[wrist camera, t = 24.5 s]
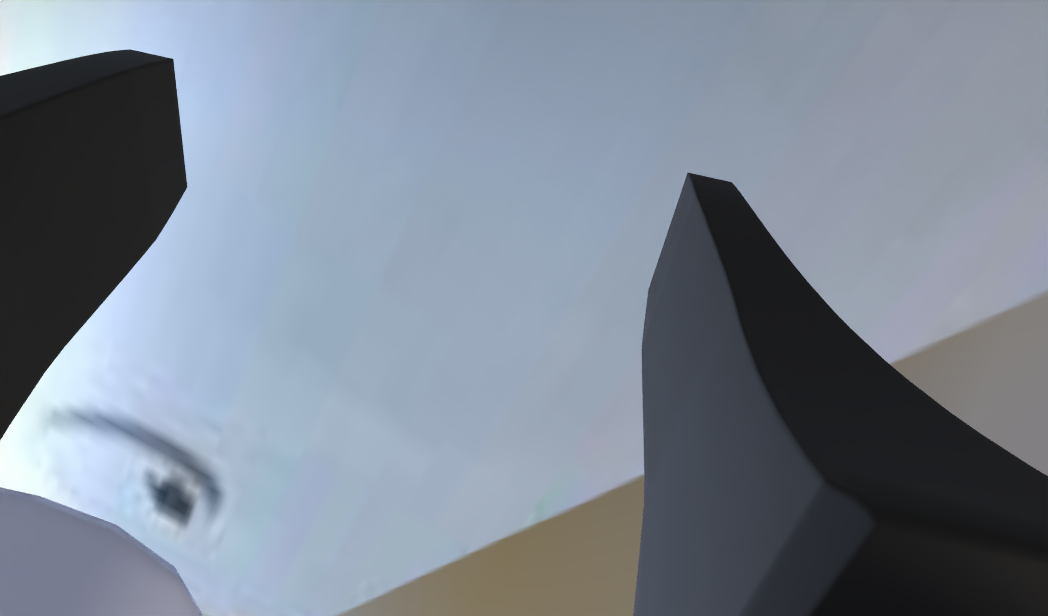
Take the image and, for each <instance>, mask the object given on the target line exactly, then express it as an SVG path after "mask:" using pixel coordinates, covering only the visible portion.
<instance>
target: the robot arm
mask: <svg viewBox="0 0 1048 616" xmlns="http://www.w3.org/2000/svg"><path fill="white" fill-rule="evenodd" d="M186 188H187V181H186V172H185V163H184V154H183V144H182V135H181V126H180V117H179V108H178V99H177V89H176V80H175V71H174V62H173V59H171V58H166V57H162V56H157V55H152V54H148V53H143V52H139V51H134V50H119V51H111V52H104V53H98V54H93V55H88V56H83V57H78V58H74V59H69V60H65V61H61V62H56V63H52V64H48V65H44V66H40V67H35V68H31V69H27V70H23V71H19V72H15V73H11V74H6V75H2V76H0V440H1V438H2V437H3V435H4V433H5V432H6V430H7V428H8V427H9V425H10V424H11V422H12V421H13V419H14V418H15V416H16V415H17V413H18V412H19V410H20V409H21V407H22V406H23V404H24V403H25V401H26V400H27V398H28V397H29V395H30V394H31V392H32V391H33V389H34V388H35V386H36V385H37V383H38V382H39V380H40V379H41V377H42V376H43V374H44V373H45V371H46V370H47V369H48V367H49V366H50V365H51V364H52V362H53V361H54V360H55V358H56V357H57V356H58V355H59V353H60V352H61V351H62V350H63V348H64V347H65V346H66V345H67V343H68V342H69V341H70V340H71V339H72V338H73V336H74V335H75V334H76V333H77V332H78V331H79V329H80V328H81V327H82V326H83V325H84V324H85V323H86V321H87V320H88V319H89V318H90V317H91V316H92V314H93V313H94V312H95V311H96V310H97V309H98V307H99V306H100V305H101V304H102V303H103V302H104V301H105V299H106V298H107V297H108V296H109V295H110V294H111V292H112V291H113V290H114V289H115V288H116V287H117V285H118V284H119V283H120V282H121V281H122V280H123V279H124V277H125V276H126V275H127V274H128V273H129V271H130V270H131V269H132V268H133V267H134V265H135V264H136V263H137V262H138V261H139V260H140V258H141V257H142V256H143V255H144V254H145V252H146V251H147V250H148V249H149V247H150V246H151V245H152V244H153V243H154V241H155V240H156V239H157V237H158V236H159V234H160V232H161V231H162V229H163V228H164V226H165V224H166V223H167V221H168V220H169V218H170V217H171V215H172V213H173V211H174V210H175V208H176V206H177V204H178V202H179V201H180V199H181V197H182V195H183V194H184V192H185V190H186ZM642 388H643V430H644V470H645V481H644V510H643V521H642V532H641V544H640V554H639V565H638V575H637V585H636V595H635V605H634V614H633V616H1048V476H1047V475H1045V474H1043V473H1041V472H1040V471H1038V470H1036V469H1035V468H1033V467H1031V466H1030V465H1028V464H1027V463H1025V462H1024V461H1022V460H1020V459H1019V458H1017V457H1016V456H1014V455H1013V454H1011V453H1010V452H1008V451H1007V450H1005V449H1003V448H1002V447H1000V446H999V445H997V444H996V443H994V442H993V441H991V440H990V439H988V438H986V437H985V436H983V435H982V434H980V433H979V432H977V431H976V430H975V429H973V428H972V427H970V426H969V425H967V424H966V423H965V422H963V421H962V420H960V419H959V418H957V417H956V416H955V415H953V414H952V413H950V412H949V411H948V410H946V409H945V408H944V407H942V406H941V405H940V404H938V403H937V402H936V401H935V400H933V399H932V398H931V397H929V396H928V395H927V394H926V393H924V392H923V391H922V390H920V389H919V388H917V387H916V386H915V385H914V384H913V383H911V382H910V381H909V380H908V379H906V378H905V377H904V376H903V375H902V374H900V373H899V372H898V371H896V369H894V368H893V367H892V366H891V365H890V364H888V363H887V362H886V361H885V360H884V359H883V358H882V357H881V356H880V355H878V354H877V353H876V352H875V351H874V350H873V349H872V348H871V347H870V346H869V345H868V344H867V343H866V342H864V341H863V340H862V339H861V338H860V337H859V336H858V335H857V334H856V333H855V332H854V331H853V330H852V329H851V328H850V327H849V326H848V325H847V324H846V323H845V322H844V321H843V320H842V319H841V318H840V317H839V316H838V315H837V314H836V313H835V312H834V311H833V310H832V309H831V308H830V307H829V305H828V304H827V303H826V302H825V301H824V300H823V299H822V298H821V296H820V295H819V294H818V293H817V292H816V291H815V290H814V289H813V287H812V286H811V285H810V284H809V283H808V282H807V281H806V279H805V278H804V277H803V276H802V274H801V273H800V272H799V271H798V270H797V268H796V267H795V266H794V265H793V263H792V262H791V261H790V260H789V258H788V257H787V256H786V255H785V253H784V252H783V251H782V249H781V248H780V247H779V245H778V244H777V243H776V241H775V240H774V239H773V237H772V236H771V235H770V233H769V232H768V231H767V229H766V228H765V226H764V225H763V224H762V222H761V221H760V219H759V218H758V217H757V215H756V214H755V213H754V211H753V210H752V208H751V207H750V206H749V204H748V203H747V201H746V200H745V199H744V197H743V196H742V194H741V193H740V192H739V191H738V189H737V188H736V187H735V186H734V184H733V183H732V182H728V181H723V180H719V179H714V178H710V177H705V176H701V175H696V174H692V173H688V174H687V177H686V180H685V183H684V186H683V189H682V192H681V195H680V198H679V201H678V204H677V206H676V209H675V212H674V215H673V218H672V221H671V224H670V227H669V230H668V233H667V236H666V239H665V242H664V245H663V248H662V251H661V254H660V257H659V260H658V263H657V266H656V269H655V272H654V275H653V278H652V281H651V284H650V287H649V291H648V299H647V307H646V315H645V323H644V332H643V341H642ZM0 616H202V614H201V611H200V609H199V608H198V606H197V604H196V603H195V601H194V599H193V597H192V596H191V594H190V592H189V591H188V589H187V587H186V585H185V584H184V582H183V580H182V579H181V577H180V575H179V573H178V572H177V570H176V568H175V567H174V566H172V565H171V564H170V563H168V562H167V561H165V560H164V559H163V558H161V557H160V556H159V555H157V554H156V553H154V552H153V551H152V550H150V549H149V548H147V547H146V546H145V545H143V544H142V543H141V542H139V541H138V540H136V539H135V538H134V537H132V536H131V535H130V534H128V533H127V532H125V531H124V530H123V529H121V528H120V527H119V526H117V525H115V524H113V523H110V522H107V521H105V520H102V519H99V518H97V517H94V516H91V515H88V514H86V513H83V512H80V511H78V510H75V509H72V508H70V507H67V506H64V505H62V504H59V503H56V502H54V501H51V500H48V499H46V498H43V497H40V496H36V495H32V494H27V493H23V492H18V491H14V490H9V489H5V488H1V487H0Z"/></svg>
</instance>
